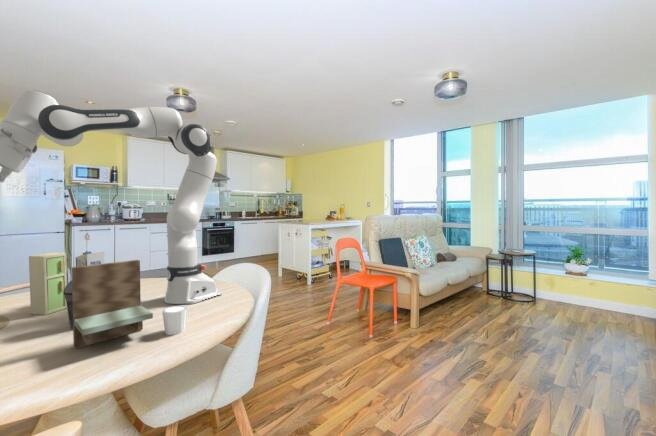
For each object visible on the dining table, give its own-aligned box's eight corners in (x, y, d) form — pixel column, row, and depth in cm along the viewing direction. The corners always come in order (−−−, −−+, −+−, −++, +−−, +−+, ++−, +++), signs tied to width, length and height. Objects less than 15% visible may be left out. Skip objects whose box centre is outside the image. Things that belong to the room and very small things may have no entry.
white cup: (170, 337, 90) (170, 314, 90) (158, 332, 94) (157, 310, 93) (191, 329, 96) (191, 307, 96) (179, 325, 100) (178, 304, 99)
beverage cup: (75, 322, 101) (74, 262, 100) (99, 322, 102) (97, 262, 101) (58, 331, 94) (56, 267, 93) (83, 331, 94) (81, 267, 94)
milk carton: (87, 303, 120) (86, 253, 120) (75, 301, 122) (74, 252, 122) (105, 298, 127) (104, 250, 126) (94, 297, 129) (93, 250, 128)
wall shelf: (138, 329, 96) (137, 259, 95) (153, 340, 88) (151, 264, 87) (73, 346, 84) (71, 267, 83) (83, 361, 76) (81, 273, 75)
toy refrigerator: (46, 315, 107) (44, 256, 106) (29, 314, 108) (28, 255, 108) (69, 308, 115) (68, 253, 114) (54, 306, 116) (52, 252, 116)
